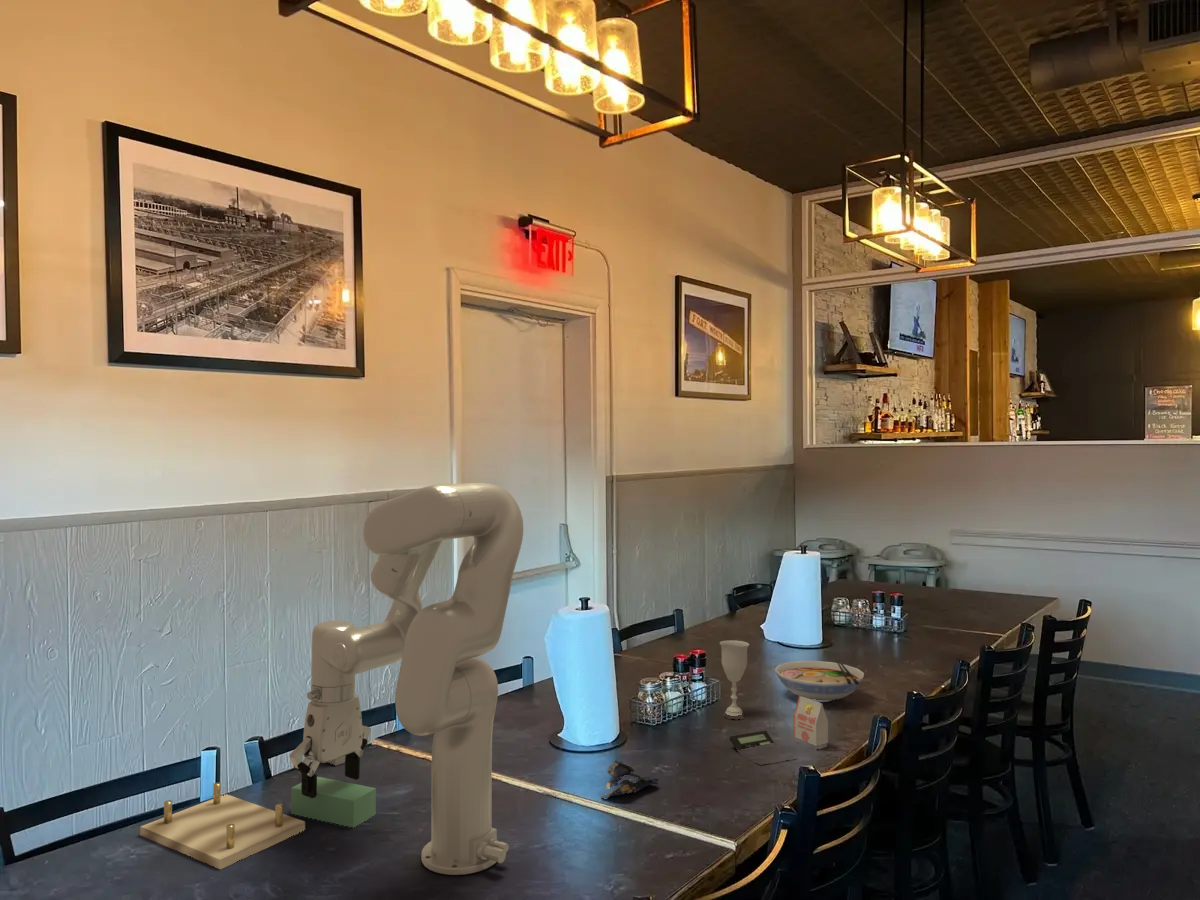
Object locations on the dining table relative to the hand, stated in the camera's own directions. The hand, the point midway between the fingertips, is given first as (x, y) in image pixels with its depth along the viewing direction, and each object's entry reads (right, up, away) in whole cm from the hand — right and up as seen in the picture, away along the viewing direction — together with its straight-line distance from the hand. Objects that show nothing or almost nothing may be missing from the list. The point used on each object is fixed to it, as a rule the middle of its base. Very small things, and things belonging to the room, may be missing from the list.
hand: (331, 786), depth 152 cm
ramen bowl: (+106, -5, +71) cm, 127 cm away
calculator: (+83, -6, +31) cm, 89 cm away
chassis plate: (-16, -5, -8) cm, 18 cm away
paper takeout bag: (+95, -5, +36) cm, 102 cm away
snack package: (+53, -6, +11) cm, 55 cm away
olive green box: (+1, -5, 0) cm, 5 cm away
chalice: (+81, -5, +56) cm, 98 cm away
